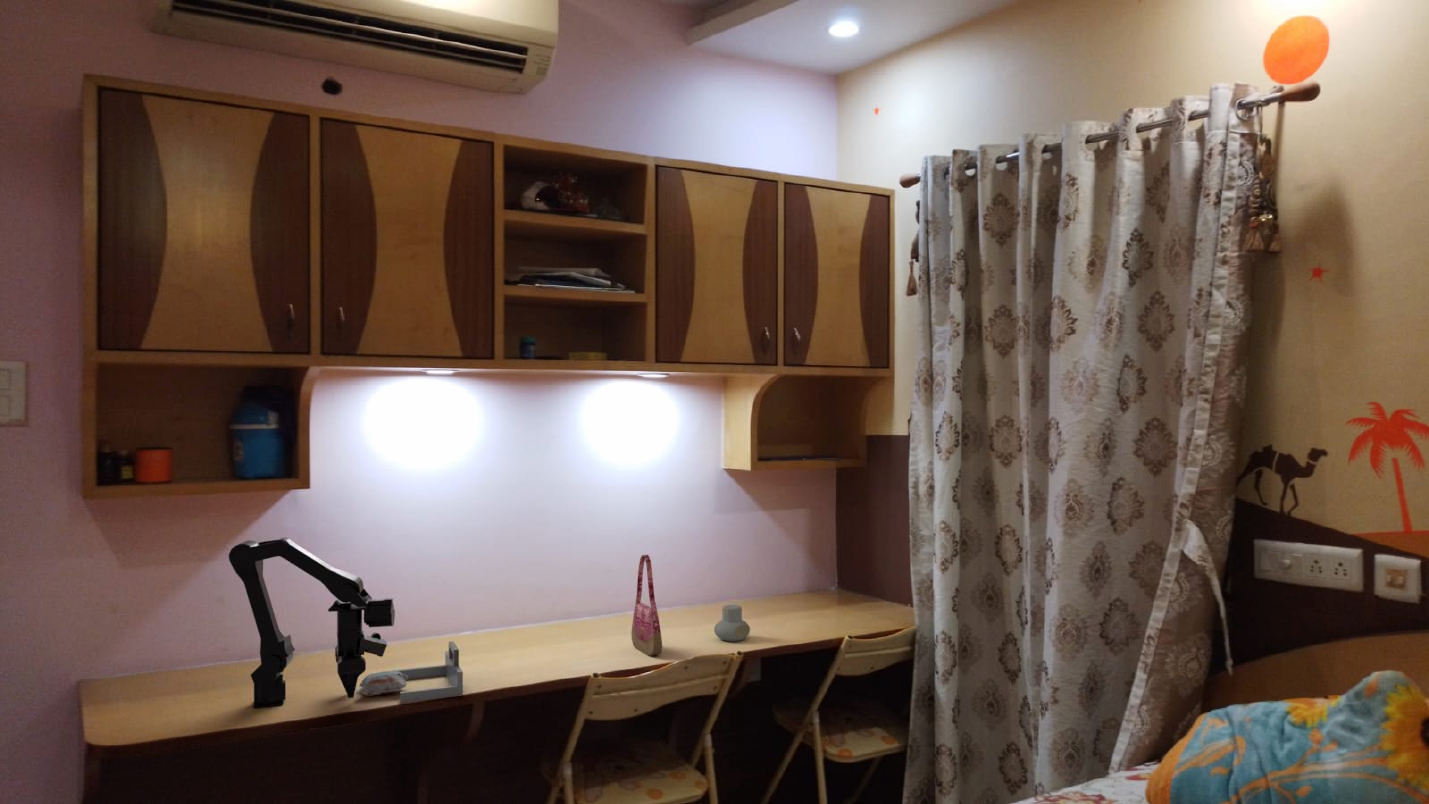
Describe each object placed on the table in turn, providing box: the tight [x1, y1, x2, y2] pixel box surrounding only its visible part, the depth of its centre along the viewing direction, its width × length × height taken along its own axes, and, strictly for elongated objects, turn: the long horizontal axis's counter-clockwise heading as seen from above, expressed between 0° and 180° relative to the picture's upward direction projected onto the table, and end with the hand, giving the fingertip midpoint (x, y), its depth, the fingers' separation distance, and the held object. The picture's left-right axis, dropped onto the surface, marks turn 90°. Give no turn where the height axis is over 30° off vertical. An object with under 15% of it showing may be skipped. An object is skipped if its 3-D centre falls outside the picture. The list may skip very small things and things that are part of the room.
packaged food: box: [355, 670, 409, 697], centre depth 236 cm, size 9×12×5 cm
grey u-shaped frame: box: [391, 640, 464, 704], centre depth 241 cm, size 15×21×10 cm
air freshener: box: [713, 604, 751, 643], centre depth 291 cm, size 11×8×10 cm
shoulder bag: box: [631, 554, 663, 657], centre depth 277 cm, size 17×3×28 cm, turn 27°
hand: (350, 692), depth 232 cm, fingers open, 9 cm apart
